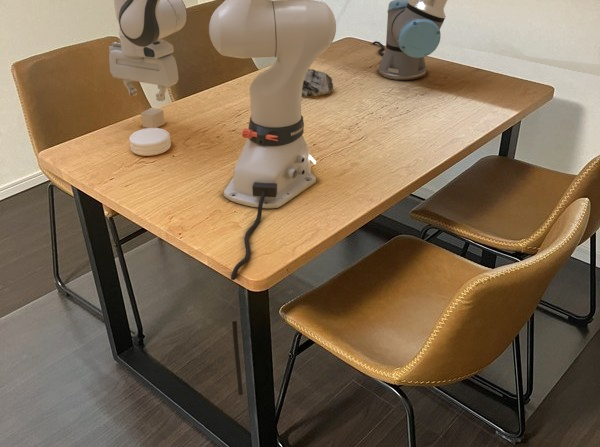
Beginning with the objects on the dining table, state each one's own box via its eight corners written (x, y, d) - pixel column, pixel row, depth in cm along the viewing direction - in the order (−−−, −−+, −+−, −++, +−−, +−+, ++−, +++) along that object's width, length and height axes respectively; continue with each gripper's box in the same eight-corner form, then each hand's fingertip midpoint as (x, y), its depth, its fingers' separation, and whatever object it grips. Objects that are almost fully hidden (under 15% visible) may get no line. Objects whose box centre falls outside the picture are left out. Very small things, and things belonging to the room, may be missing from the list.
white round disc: (133, 140, 161) (131, 128, 159) (172, 138, 162) (170, 126, 160) (128, 157, 152) (126, 144, 150) (169, 155, 153) (167, 142, 151)
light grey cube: (153, 121, 172) (151, 107, 170) (165, 123, 170) (163, 109, 168) (142, 126, 169) (140, 113, 167) (154, 129, 167) (151, 115, 165)
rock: (337, 91, 188) (337, 68, 185) (314, 100, 182) (313, 76, 179) (303, 81, 198) (303, 59, 194) (280, 89, 192) (279, 66, 188)
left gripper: (99, 43, 159) (109, 95, 166) (162, 52, 150) (169, 107, 157) (116, 38, 164) (125, 89, 171) (178, 46, 155) (184, 99, 162)
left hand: (147, 97), depth 164 cm, fingers open, 8 cm apart
